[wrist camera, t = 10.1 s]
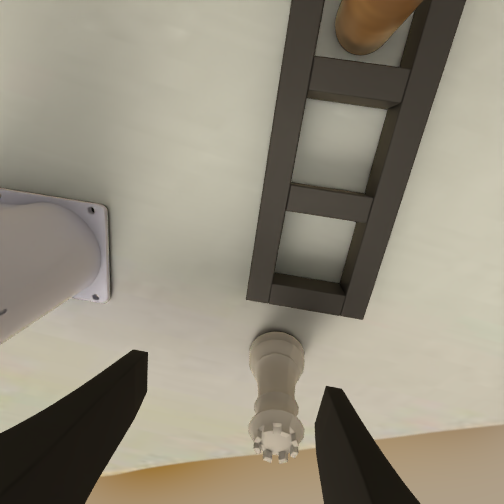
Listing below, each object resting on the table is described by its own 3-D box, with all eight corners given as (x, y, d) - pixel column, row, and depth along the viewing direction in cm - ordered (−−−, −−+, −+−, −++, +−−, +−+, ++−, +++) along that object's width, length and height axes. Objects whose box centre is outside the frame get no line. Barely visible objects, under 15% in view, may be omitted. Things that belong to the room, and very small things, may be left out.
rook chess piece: (270, 318, 22) (266, 403, 14) (315, 347, 22) (334, 444, 15) (239, 354, 23) (220, 449, 15) (282, 381, 23) (284, 486, 16)
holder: (248, 287, 21) (245, 300, 19) (306, -87, 14) (310, -126, 12) (355, 305, 21) (363, 320, 19) (469, -68, 14) (500, -104, 12)
